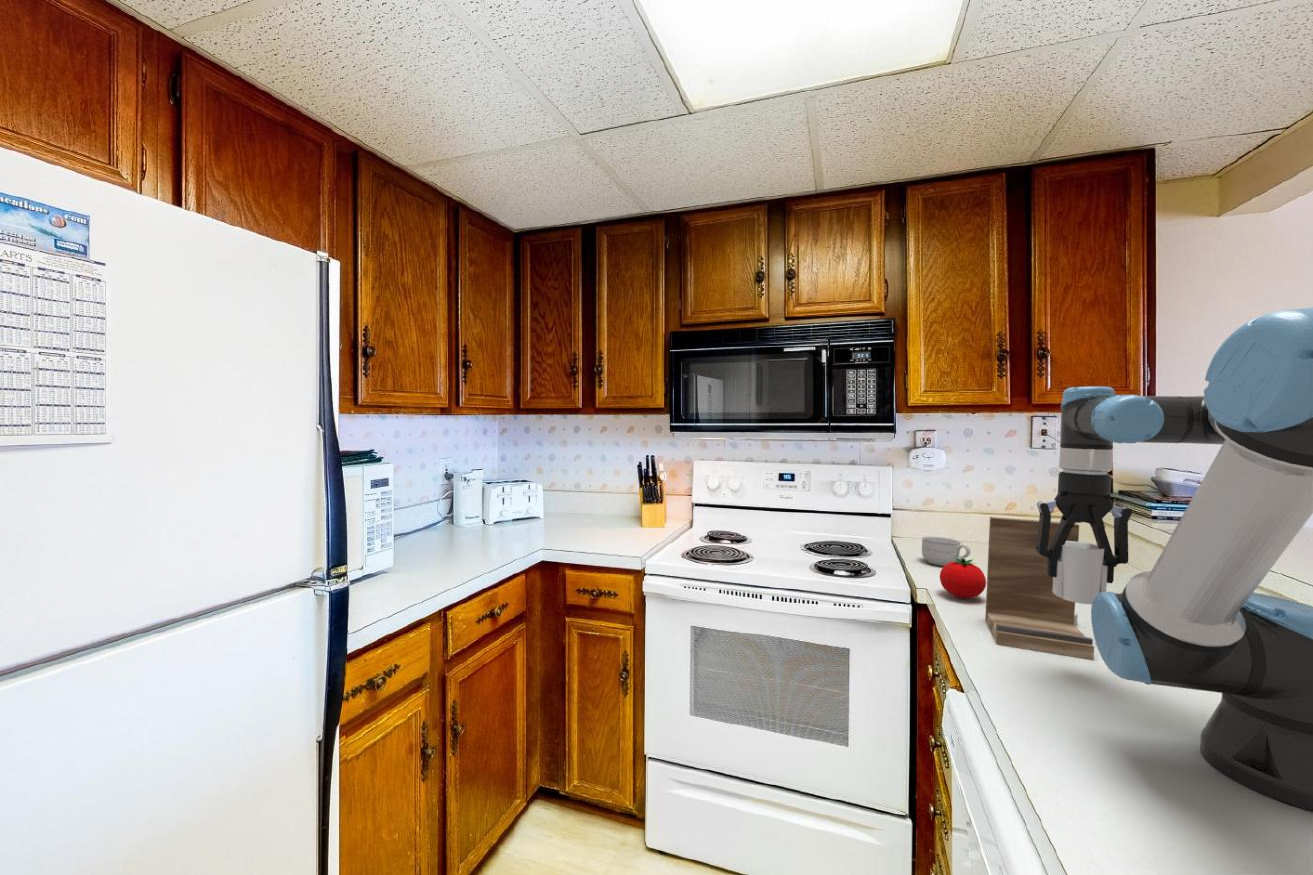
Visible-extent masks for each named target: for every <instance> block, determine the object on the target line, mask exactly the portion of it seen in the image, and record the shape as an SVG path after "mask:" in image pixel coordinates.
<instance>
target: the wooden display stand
mask: <svg viewBox="0 0 1313 875" xmlns="http://www.w3.org/2000/svg"><path fill="white" fill-rule="evenodd" d="M1059 525H1060V521H1051V523H1050V532H1049V541H1048V550H1049V548H1050V546H1051V543H1052V541H1053V539H1054V536H1055V534H1056V532H1057V529H1058V527H1059ZM1038 526H1039V520H1038V519H1037V520H1036V519H1035V520H1034V519H1022V518H1021V519H1020V518H1009V517H997V516H989V527H988V528H989V531H988V533H989V534H988V550H987V551H988V552H987V573H986V574H987V575H986V576H987V578H986V595H985V597H986V598H985V599H986V600H985V615H984V616H985V618H984V619H985V622H986V624H987V626H988V628H989V631H990V632H991V634H992V637H993V638H994V640H995V642H996V644H997V645H999V646H1000V645H1001V646H1007V647H1011V648H1012V647H1013V648H1019V649H1025V650H1026V649H1027V650H1032V651H1037V652H1038V651H1039V652H1043V653H1044V652H1045V653H1051V654H1058V655H1063V656H1070V657H1075V658H1076V657H1077V658H1082V659H1087V660H1088V659H1089V660H1094V659H1095V658H1094V656H1095V646H1094V645H1093V638H1092V637H1087V636H1086V635H1084V634H1083V633H1082V632H1081V630H1080V629H1079V628H1078V627H1077V625H1076V626H1075V625H1074V613H1075V611H1076V603H1075V602H1071V601H1068V600H1065V599H1062V598H1061V597H1058V596H1056V595H1055V594H1054V593H1053V592H1052V591H1053V577H1050V576H1049V575H1048V573H1047V562H1048V559H1047V557H1045V556H1042V555H1040V554H1039V553H1038V552H1037V551H1036V544H1037V535H1038ZM1079 537H1080V525H1079V523H1075V524H1074V526H1073V527H1072V529H1071V531H1070V533H1069V536H1068V538H1067V540H1066V541H1076V542H1079V539H1080V538H1079Z"/></svg>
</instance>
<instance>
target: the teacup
mask: <svg viewBox="0 0 1313 875" xmlns="http://www.w3.org/2000/svg"><path fill="white" fill-rule="evenodd" d="M921 539H922V541H921V554H922V558H924V559H925V560H926V561H927V563H929V564H932V565H936V566H940V567H944V566H945V565H946V564H948V563H950V562H954V561H957V560H956V559H955V557H956V558H958V559H960V560H961V559H966V558H968V557H969V556H970V554H971V548H970V547H969V546H968V545H967V544H965V543H963V544H961V541H960V540H958V539H955V538H954V539H953V538H949V537H943V536H934V535H933V536H930V535H929V536H926V535H925V536H922V537H921ZM961 548H963V549H965V554H964V555H961V556H960V551H961ZM951 560H952V561H951ZM957 562H958V561H957Z"/></svg>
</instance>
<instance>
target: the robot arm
mask: <svg viewBox="0 0 1313 875" xmlns="http://www.w3.org/2000/svg"><path fill="white" fill-rule="evenodd" d="M1204 380H1205V381H1206V382H1208V385H1207V387H1205V388H1204V389H1203V395H1199V396H1197V395H1196V396H1192V395H1191V396H1180V395H1173V396H1172V395H1170V396H1169V395H1167V396H1166V395H1165V396H1163V395H1161V396H1160V395H1159V396H1158V395H1137V394H1117V395H1116V390H1114V388H1113V387H1111V386H1077V387H1074V386H1072V387H1068V388H1066V389H1064V391H1063V392H1062V399H1061V404H1060V411H1061V414H1060V418H1061V419H1060V435H1059V436H1060V440H1059V441H1060V442H1059V447H1060V448H1059V458H1058V460H1059V463H1058V467H1059V469H1060V470H1062V471H1059V472H1058V477H1057V478H1058V480H1057V481H1058V482H1057V494H1056V496H1055V498H1054V499H1053V500H1050V501H1045V502H1044V501H1038V502H1037V504H1036V506H1037V509H1038V511H1039V512H1038V514H1039V518H1038V521H1039V526H1038V535H1037V544H1036V551H1037V552H1038V553H1039V554H1040V555H1042V556H1045V557H1047V559H1048V562H1047V573H1048V575H1049V576H1050V577H1053V591H1052V592H1053V593H1054V594H1055V595H1056V596H1058V597H1062V580H1063V562H1062V561H1060V560H1059V556H1060V554H1061V552H1062V545H1065V542H1066V540H1067V538H1068V536H1069V533H1070V531H1071V529H1072V527H1073V526H1074V524H1075V523H1076V524H1079V523H1080V524H1081V523H1086V524H1089V525H1090V527H1091V530H1092V533H1093V536H1094V539H1095V543H1096V545H1097V546H1098V548H1099V549H1104V557H1103V566H1102V575H1101V584H1100V593H1098V594H1097V595H1096V596H1095V597H1094V599H1093V602H1092V604H1091V607H1090V608H1091V611H1090V618H1091V620H1090V621H1091V628H1092V633H1093V638H1094V640H1095V643H1096V647H1097V649H1098V652H1099V655H1100V657H1101V658H1102V661H1103V663H1104V664H1105V666H1106V667H1107V668H1108V670H1110V671H1111V672H1112V673H1113V674H1114V675H1116V676H1117V677H1119V678H1121V679H1124V680H1127V681H1134V682H1139V683H1144V684H1145V685H1148V686H1149V685H1154V686H1155V685H1157V686H1164V687H1171V688H1179V689H1186V690H1187V689H1188V690H1189V689H1190V690H1196V691H1204V692H1212V693H1220V694H1221V698H1220V702H1219V703H1218V705H1217V707H1216V708H1215V710H1214V711H1213V713H1212V714H1211V716H1210V717H1209V719H1208V721H1207V722H1206V724H1205V726H1204V727H1203V728H1202V730H1201V733H1200V743H1199V751H1200V753H1201V755H1202V756H1203V758H1205V759H1206V760H1207V762H1208V763H1210V764H1211V765H1212V766H1214V767H1215V768H1216V769H1217V770H1218V771H1220V772H1221V773H1223V774H1225V775H1227V776H1228V777H1229V778H1231V779H1233V781H1236V782H1238V783H1240V784H1242V785H1244V786H1246V787H1248V788H1250V789H1252V790H1254V791H1257V792H1259V793H1261V794H1263V795H1265V796H1268V797H1270V798H1273V799H1276V800H1278V801H1281V802H1284V803H1287V804H1289V805H1292V806H1295V807H1298V808H1301V809H1305V810H1309V811H1312V812H1313V606H1312V605H1308V604H1306V603H1301V602H1298V601H1294V600H1289V599H1286V598H1282V597H1277V596H1273V595H1269V594H1264V593H1257V592H1255V591H1256V589H1257V588H1258V587H1259V585H1260V584H1261V583H1262V581H1263V580H1264V579H1265V578H1266V577H1267V575H1268V573H1269V572H1270V571H1271V569H1273V567H1274V565H1275V564H1276V563H1277V562H1278V560H1279V558H1280V557H1281V556H1282V555H1283V553H1284V552H1285V551H1286V550H1287V548H1288V547H1289V546H1290V544H1291V543H1292V542H1293V541H1294V539H1295V537H1297V535H1298V534H1299V532H1300V531H1301V530H1302V528H1303V527H1304V526H1305V524H1306V523H1307V522H1308V520H1309V519H1310V518H1311V516H1312V515H1313V306H1312V307H1311V306H1310V307H1306V308H1297V309H1296V308H1295V309H1294V308H1293V309H1283V310H1277V311H1272V312H1269V313H1266V314H1264V315H1261V316H1259V317H1256V318H1254V319H1252V320H1249V321H1247V322H1246V323H1244V324H1243V325H1241V326H1240V327H1238V328H1236V329H1235V330H1234V331H1233V332H1232V333H1231V334H1230V335H1229V336H1228V337H1227V338H1226V339H1225V340H1224V341H1223V342H1222V343H1221V345H1220V346H1219V347H1218V349H1217V350H1216V352H1215V353H1214V355H1213V356H1212V358H1211V361H1210V363H1209V365H1208V367H1207V370H1206V374H1205V378H1204ZM1115 443H1116V444H1136V443H1147V444H1148V443H1150V444H1151V443H1152V444H1154V443H1155V444H1162V443H1163V444H1195V445H1196V444H1197V445H1199V444H1201V445H1221V447H1220V448H1219V451H1217V454H1216V456H1215V458H1214V460H1212V462H1211V465H1210V466H1209V468H1208V470H1207V471H1206V474H1205V475H1204V477H1203V479H1202V481H1201V482H1200V485H1198V487H1197V490H1196V491H1195V493H1194V495H1193V496H1192V498H1191V500H1190V502H1189V503H1188V505H1187V506H1186V508H1185V511H1184V512H1183V514H1182V516H1181V518H1180V519H1179V521H1178V523H1177V525H1176V527H1175V529H1174V530H1173V531H1172V534H1171V536H1170V537H1169V539H1168V541H1167V543H1166V544H1165V546H1164V548H1163V550H1162V551H1161V554H1160V555H1159V557H1158V558H1157V560H1156V562H1155V564H1154V566H1153V568H1152V570H1150V571H1149V570H1148V571H1147V570H1146V571H1142V572H1140V573H1137V574H1135V575H1133V576H1132V577H1131V578H1130V579H1129V580H1128V581H1127V583H1126V585H1125V587H1124V588H1123V590H1122V592H1120V593H1117V592H1116V593H1115V592H1113V591H1107V584H1113V582H1114V579H1115V578H1114V577H1115V576H1114V575H1115V568H1116V567H1117V566H1118V565H1121V564H1125V565H1126V564H1128V563H1129V520H1130V518H1131V516H1132V513H1133V511H1132V510H1131V509H1130V508H1127V507H1126V506H1125V507H1124V506H1119V505H1116V504H1114V503H1113V501H1112V499H1111V492H1112V491H1111V490H1112V489H1111V488H1112V476H1111V475H1110V474H1109V472H1111V471H1113V449H1114V445H1113V444H1115ZM1055 508H1057V509H1058V510H1059V512H1060V513H1061V514H1062V516H1061V518H1060V521H1059V522H1060V525H1059V527H1058V529H1057V532H1056V534H1055V536H1054V539H1053V541H1052V543H1051V546H1050V548H1049V550H1048V541H1049V532H1050V523H1051V522H1052V515H1051V514H1053V513H1054V511H1055ZM1109 512H1111V515H1112V517H1114V518H1113V541H1114V542H1113V544H1114V546H1113V549H1114V552H1113V551H1112V548H1111V544H1110V541H1109V538H1108V536H1107V532H1106V527H1105V523H1104V520H1103V519H1104V517H1105V516H1106V515H1107V514H1108V513H1109ZM1113 553H1114V554H1113Z"/></svg>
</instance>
